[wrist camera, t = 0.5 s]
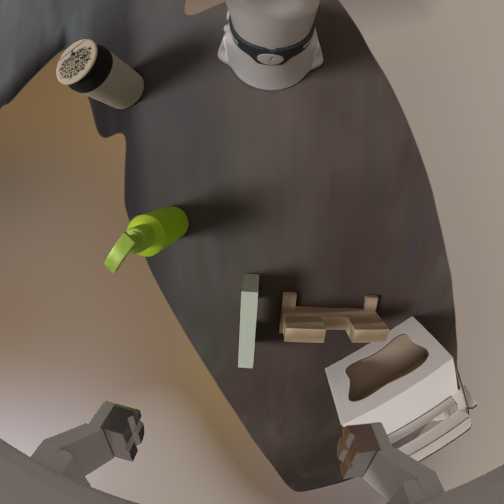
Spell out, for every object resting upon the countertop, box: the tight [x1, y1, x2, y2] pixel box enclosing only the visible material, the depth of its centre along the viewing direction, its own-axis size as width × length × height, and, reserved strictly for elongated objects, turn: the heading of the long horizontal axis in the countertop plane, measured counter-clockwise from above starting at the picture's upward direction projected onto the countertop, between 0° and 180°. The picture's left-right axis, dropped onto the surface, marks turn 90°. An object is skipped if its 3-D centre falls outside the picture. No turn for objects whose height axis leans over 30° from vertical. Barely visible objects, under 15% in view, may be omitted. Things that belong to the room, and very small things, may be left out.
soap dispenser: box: [104, 207, 188, 273], centre depth 41 cm, size 6×7×20 cm
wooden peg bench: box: [279, 292, 389, 343], centre depth 49 cm, size 8×18×9 cm, turn 87°
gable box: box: [325, 316, 477, 462], centre depth 42 cm, size 22×13×28 cm, turn 122°
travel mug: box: [56, 39, 144, 109], centre depth 37 cm, size 8×8×18 cm
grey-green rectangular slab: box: [238, 274, 259, 368], centre depth 50 cm, size 14×2×9 cm, turn 177°
